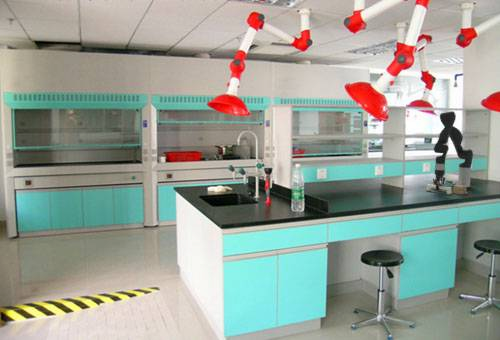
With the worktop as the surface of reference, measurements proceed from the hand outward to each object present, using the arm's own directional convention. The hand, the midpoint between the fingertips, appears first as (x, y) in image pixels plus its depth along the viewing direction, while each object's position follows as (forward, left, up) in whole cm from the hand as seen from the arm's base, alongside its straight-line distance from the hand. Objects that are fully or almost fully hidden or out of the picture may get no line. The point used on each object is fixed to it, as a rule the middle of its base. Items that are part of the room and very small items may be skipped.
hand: (438, 190), depth 346 cm
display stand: (-11, +2, -2) cm, 11 cm away
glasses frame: (0, 0, -2) cm, 2 cm away
